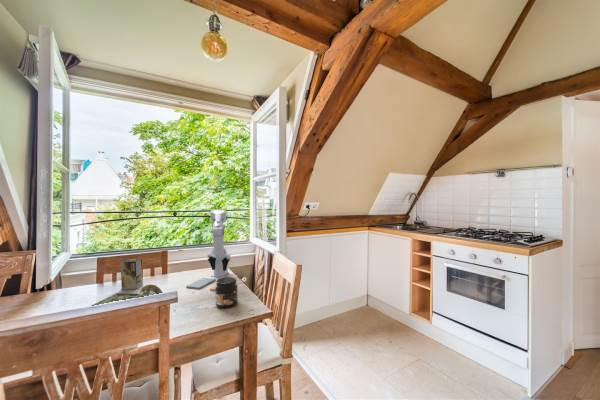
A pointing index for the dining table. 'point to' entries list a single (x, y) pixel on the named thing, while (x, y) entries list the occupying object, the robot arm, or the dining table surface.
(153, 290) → the olive sloped mound
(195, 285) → the board
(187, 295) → the dining table surface
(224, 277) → the stub
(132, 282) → the coffee box
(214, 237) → the robot arm
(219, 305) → the supplement container
